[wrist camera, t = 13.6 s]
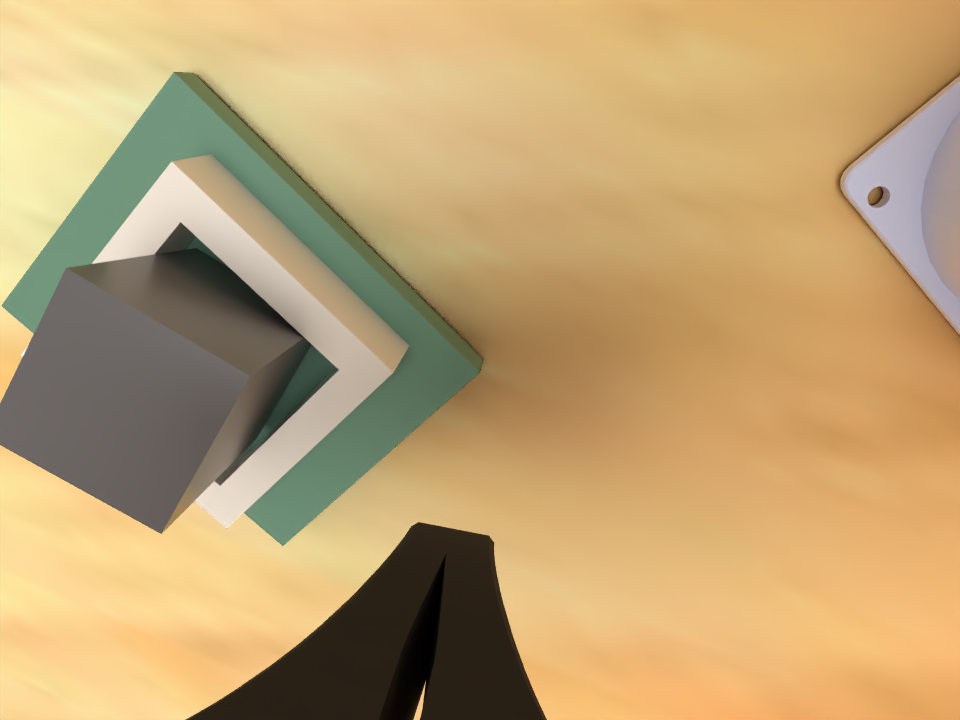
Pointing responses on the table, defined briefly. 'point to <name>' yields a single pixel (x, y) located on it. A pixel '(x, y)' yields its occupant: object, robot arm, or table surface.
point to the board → (122, 185)
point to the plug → (148, 380)
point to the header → (287, 289)
